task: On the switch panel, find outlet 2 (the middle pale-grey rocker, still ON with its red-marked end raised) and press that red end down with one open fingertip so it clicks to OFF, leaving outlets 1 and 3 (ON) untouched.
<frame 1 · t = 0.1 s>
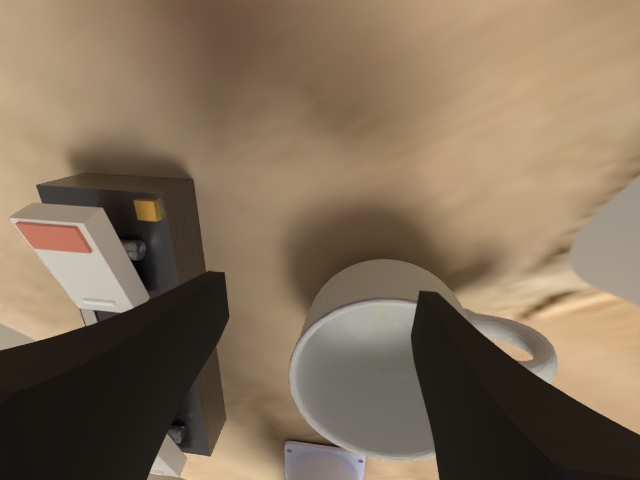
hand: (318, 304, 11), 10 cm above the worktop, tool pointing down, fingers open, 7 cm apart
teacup: (401, 303, 23), on the worktop
switch panel: (167, 317, 26), on the worktop
rocker 3: (88, 264, 18), point 6 cm above the worktop, hinge at -15.0°
rocker 1: (146, 451, 24), point 6 cm above the worktop, hinge at -15.0°
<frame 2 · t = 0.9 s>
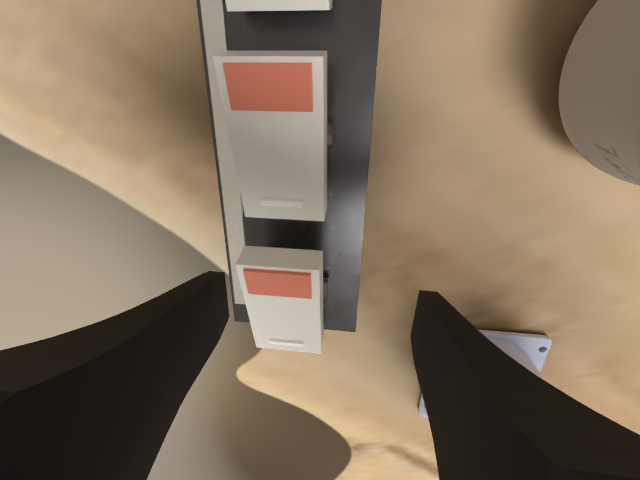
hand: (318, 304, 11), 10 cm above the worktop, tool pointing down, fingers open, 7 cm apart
rocker 2: (280, 146, 13), point 6 cm above the worktop, hinge at -15.0°
switch panel: (301, 128, 18), on the worktop
rocker 1: (285, 305, 17), point 6 cm above the worktop, hinge at -15.0°
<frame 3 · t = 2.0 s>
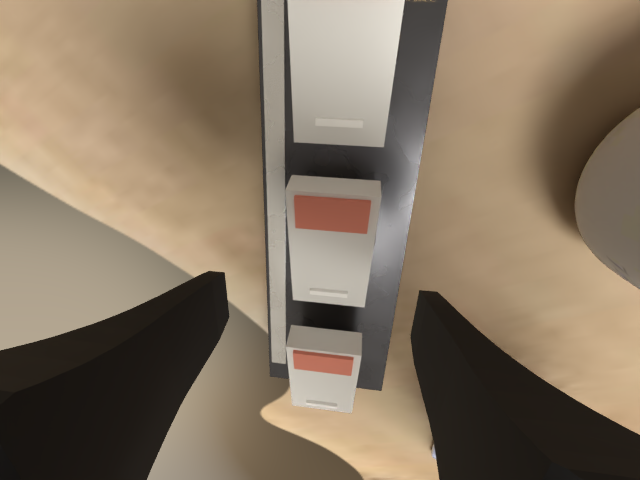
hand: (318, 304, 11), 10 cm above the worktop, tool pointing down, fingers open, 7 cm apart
rocker 2: (331, 248, 15), point 6 cm above the worktop, hinge at -15.0°
switch panel: (338, 207, 20), on the worktop
rocker 3: (343, 51, 12), point 6 cm above the worktop, hinge at -15.0°
rocker 1: (323, 374, 19), point 6 cm above the worktop, hinge at -15.0°
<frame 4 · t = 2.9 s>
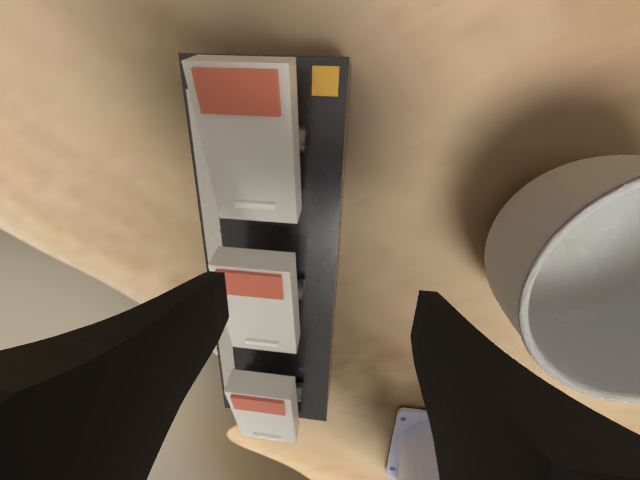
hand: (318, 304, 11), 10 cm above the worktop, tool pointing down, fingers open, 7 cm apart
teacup: (582, 229, 19), on the worktop
rocker 2: (260, 306, 17), point 6 cm above the worktop, hinge at -15.0°
switch panel: (282, 255, 22), on the worktop
rocker 3: (252, 149, 14), point 6 cm above the worktop, hinge at -15.0°
rocker 1: (265, 410, 21), point 6 cm above the worktop, hinge at -15.0°
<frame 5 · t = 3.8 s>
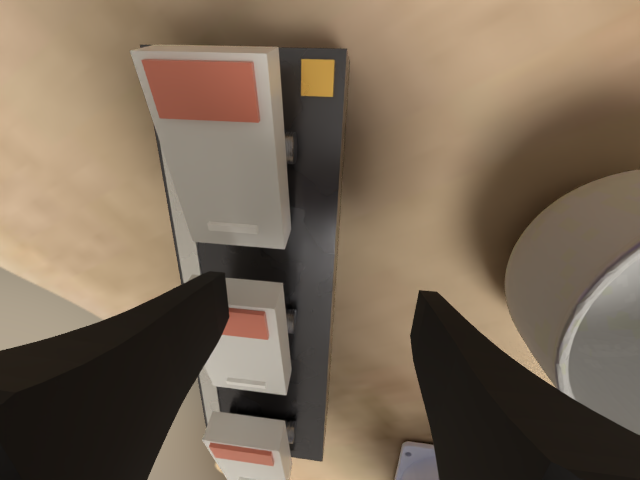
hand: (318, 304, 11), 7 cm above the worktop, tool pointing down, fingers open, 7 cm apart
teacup: (616, 249, 17), on the worktop
rocker 2: (243, 342, 15), point 6 cm above the worktop, hinge at -14.4°, touching gripper
switch panel: (273, 276, 19), on the worktop
rocker 3: (227, 161, 11), point 6 cm above the worktop, hinge at -15.0°
rocker 1: (252, 455, 18), point 6 cm above the worktop, hinge at -15.0°
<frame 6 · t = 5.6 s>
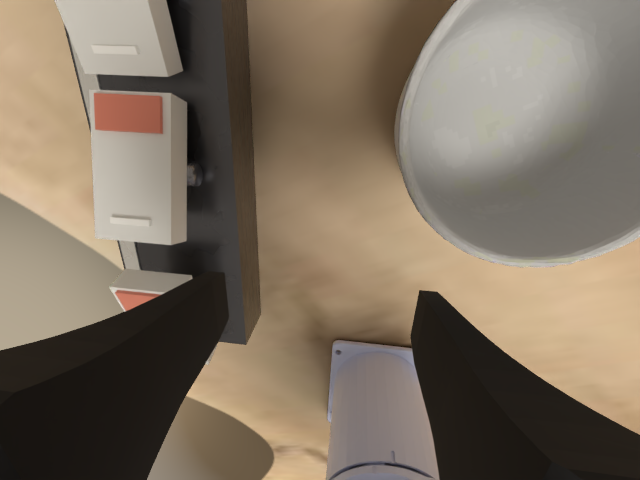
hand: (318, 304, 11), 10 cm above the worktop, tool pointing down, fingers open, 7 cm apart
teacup: (508, 117, 17), on the worktop
rocker 2: (139, 170, 15), point 6 cm above the worktop, hinge at 15.2°
switch panel: (195, 160, 20), on the worktop
rocker 1: (169, 321, 19), point 6 cm above the worktop, hinge at -15.0°
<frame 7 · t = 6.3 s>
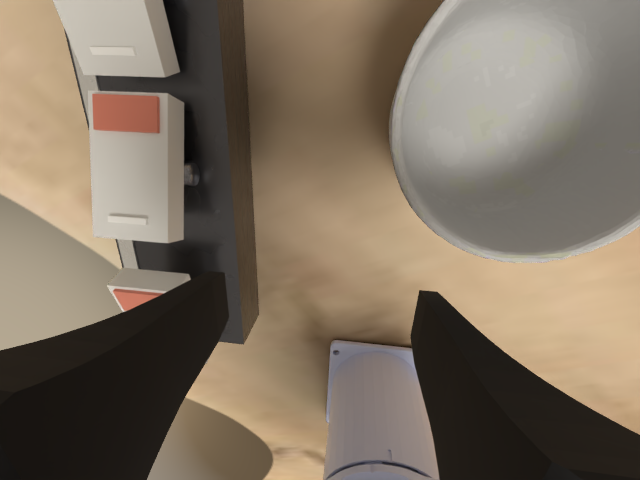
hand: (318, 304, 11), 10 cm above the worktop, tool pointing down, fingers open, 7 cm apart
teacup: (502, 116, 18), on the worktop
rocker 2: (137, 169, 15), point 6 cm above the worktop, hinge at 15.2°
switch panel: (193, 161, 21), on the worktop
rocker 1: (166, 320, 19), point 6 cm above the worktop, hinge at -15.0°
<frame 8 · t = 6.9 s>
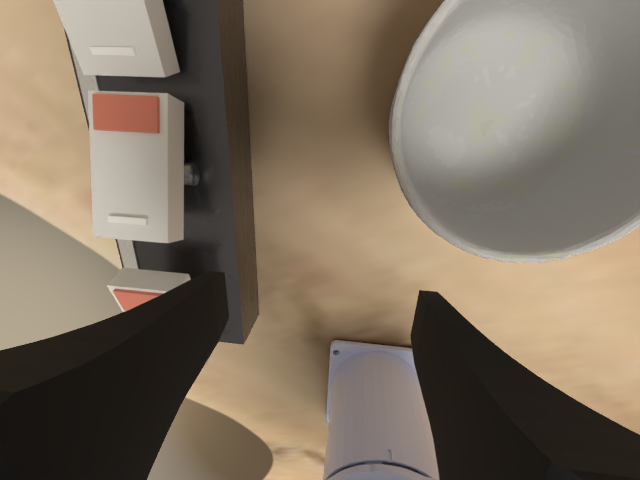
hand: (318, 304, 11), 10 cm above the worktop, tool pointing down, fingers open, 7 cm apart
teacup: (502, 116, 18), on the worktop
rocker 2: (137, 169, 15), point 6 cm above the worktop, hinge at 15.2°
switch panel: (193, 161, 21), on the worktop
rocker 1: (166, 320, 19), point 6 cm above the worktop, hinge at -15.0°
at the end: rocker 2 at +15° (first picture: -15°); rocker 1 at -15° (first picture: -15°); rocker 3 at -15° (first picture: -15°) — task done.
